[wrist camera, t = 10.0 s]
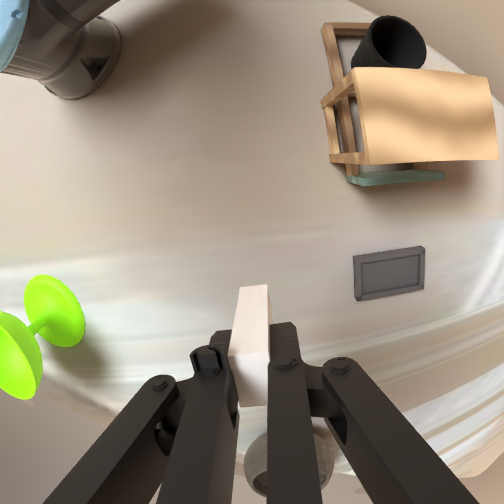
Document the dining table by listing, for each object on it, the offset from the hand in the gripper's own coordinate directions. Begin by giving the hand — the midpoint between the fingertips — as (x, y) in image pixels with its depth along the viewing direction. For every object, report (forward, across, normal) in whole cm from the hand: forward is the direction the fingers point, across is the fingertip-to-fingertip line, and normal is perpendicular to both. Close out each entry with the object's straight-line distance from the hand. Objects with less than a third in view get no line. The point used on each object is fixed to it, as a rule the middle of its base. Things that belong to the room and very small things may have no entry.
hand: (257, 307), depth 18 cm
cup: (+30, +19, +21) cm, 41 cm away
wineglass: (+30, -43, -12) cm, 54 cm away
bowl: (+30, -1, -48) cm, 56 cm away
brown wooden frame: (+29, +19, +11) cm, 37 cm away
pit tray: (+29, +19, -12) cm, 37 cm away
